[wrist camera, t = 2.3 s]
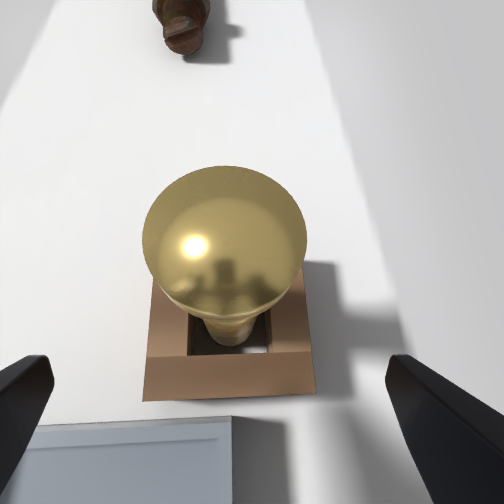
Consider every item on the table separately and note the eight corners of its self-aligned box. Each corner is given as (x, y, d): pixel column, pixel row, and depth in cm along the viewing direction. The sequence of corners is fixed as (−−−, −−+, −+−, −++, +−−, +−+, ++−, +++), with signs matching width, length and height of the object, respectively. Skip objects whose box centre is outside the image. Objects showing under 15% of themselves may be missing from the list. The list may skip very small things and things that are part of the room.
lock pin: (265, 355, 18) (316, 310, 7) (195, 358, 18) (133, 316, 7) (261, 288, 20) (298, 165, 8) (197, 290, 19) (150, 165, 8)
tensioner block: (302, 391, 17) (316, 393, 15) (157, 398, 17) (142, 401, 14) (290, 258, 20) (299, 239, 18) (167, 261, 20) (156, 241, 17)
